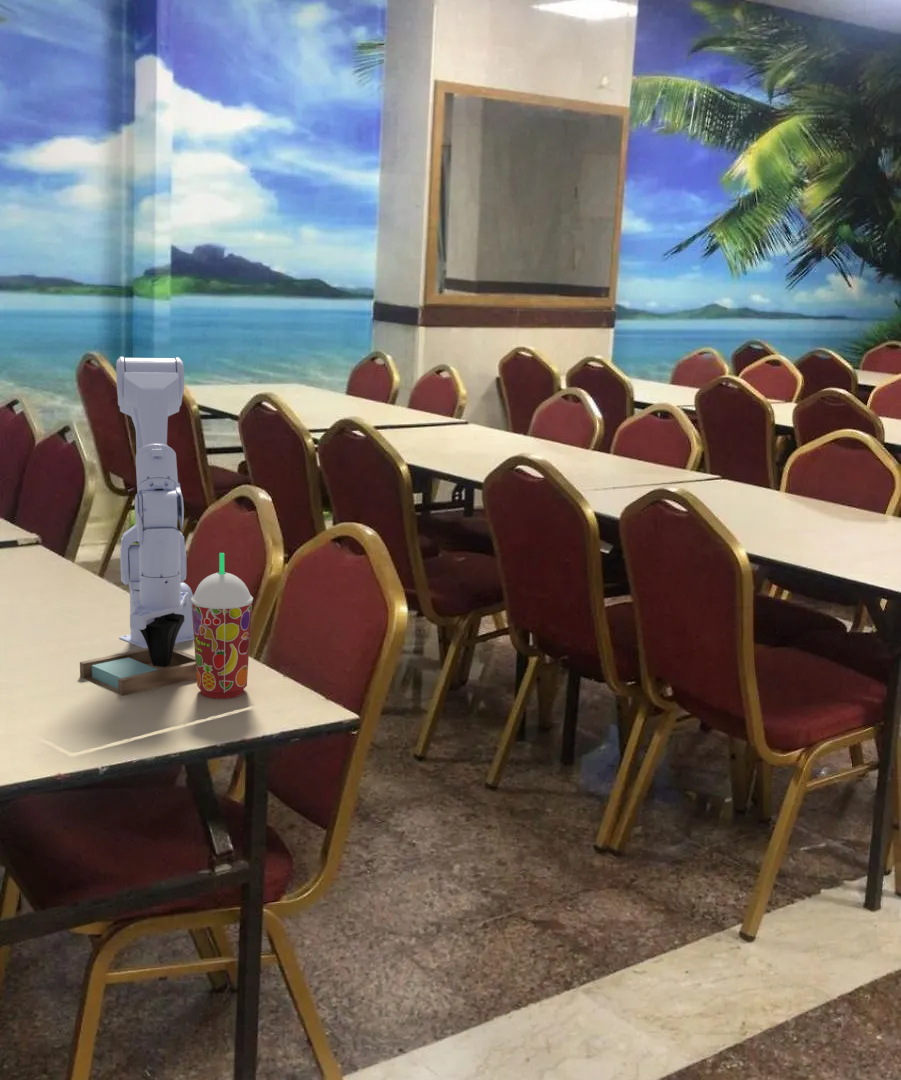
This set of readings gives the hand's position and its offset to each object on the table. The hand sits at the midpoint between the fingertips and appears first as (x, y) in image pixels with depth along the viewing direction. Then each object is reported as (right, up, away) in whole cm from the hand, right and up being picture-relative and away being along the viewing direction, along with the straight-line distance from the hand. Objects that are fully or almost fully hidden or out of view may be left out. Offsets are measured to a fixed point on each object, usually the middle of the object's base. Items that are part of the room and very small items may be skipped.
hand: (161, 665), depth 191 cm
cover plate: (-4, -2, -4) cm, 6 cm away
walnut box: (-2, -2, -2) cm, 4 cm away
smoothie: (+10, -4, -7) cm, 13 cm away
